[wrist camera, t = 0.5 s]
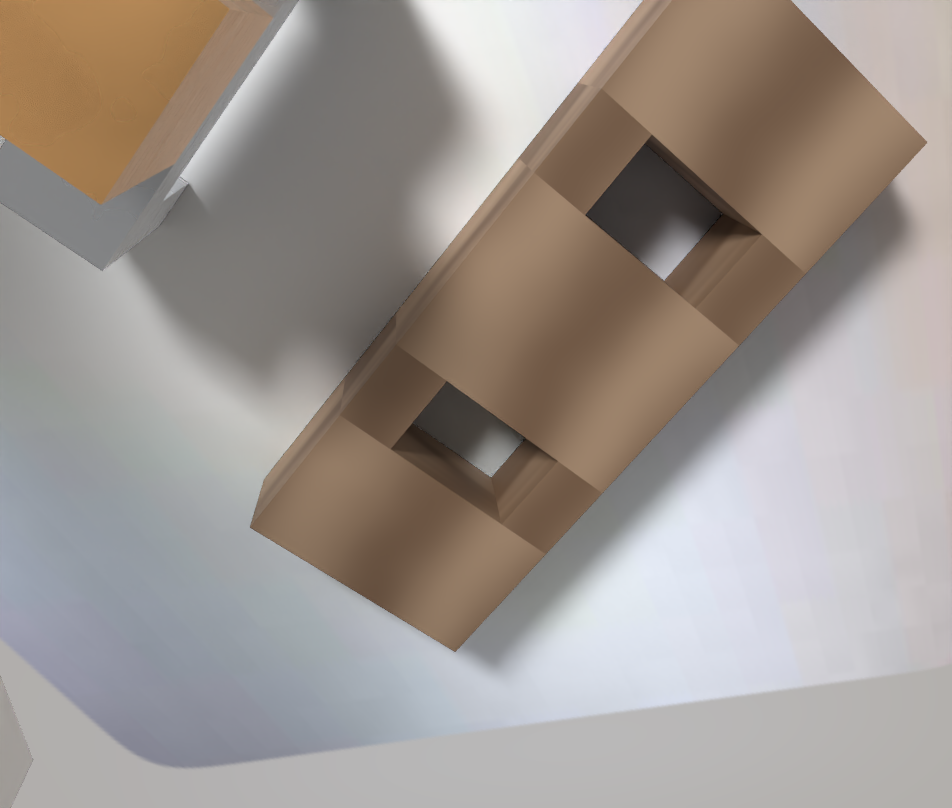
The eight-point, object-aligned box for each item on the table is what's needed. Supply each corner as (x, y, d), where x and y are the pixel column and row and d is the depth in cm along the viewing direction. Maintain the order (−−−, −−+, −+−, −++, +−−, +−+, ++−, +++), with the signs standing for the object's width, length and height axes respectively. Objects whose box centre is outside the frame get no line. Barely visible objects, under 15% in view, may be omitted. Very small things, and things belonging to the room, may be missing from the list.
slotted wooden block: (264, 479, 37) (249, 527, 34) (686, -55, 31) (725, -67, 27) (449, 596, 40) (455, 651, 37) (869, 131, 34) (927, 142, 30)
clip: (61, 157, 32) (-165, 236, 19) (267, -167, 29) (163, -337, 16) (159, 226, 33) (8, 344, 20) (367, -78, 30) (346, -168, 17)
